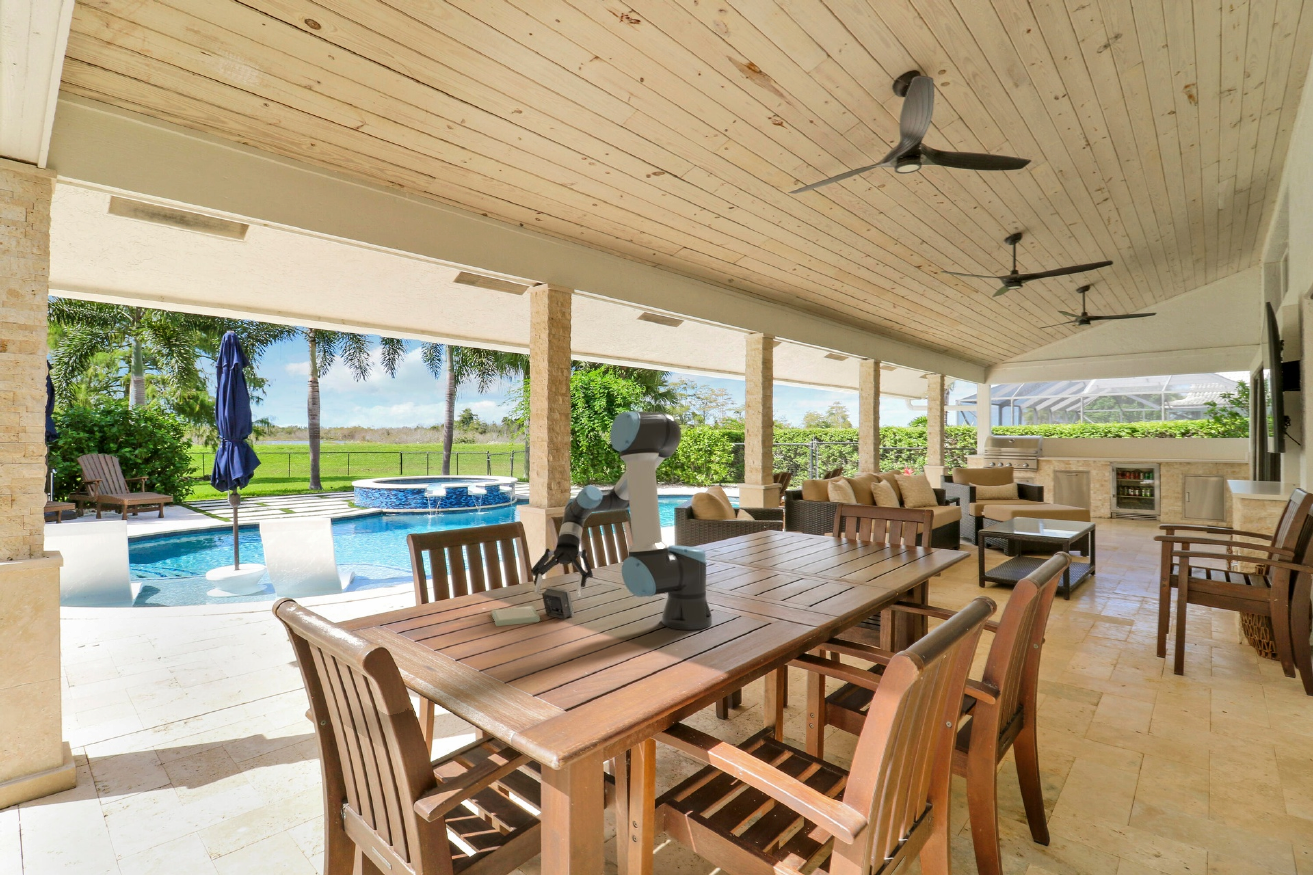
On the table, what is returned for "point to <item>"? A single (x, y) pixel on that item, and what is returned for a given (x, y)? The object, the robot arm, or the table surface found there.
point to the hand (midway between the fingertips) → (557, 594)
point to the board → (515, 615)
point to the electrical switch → (558, 602)
